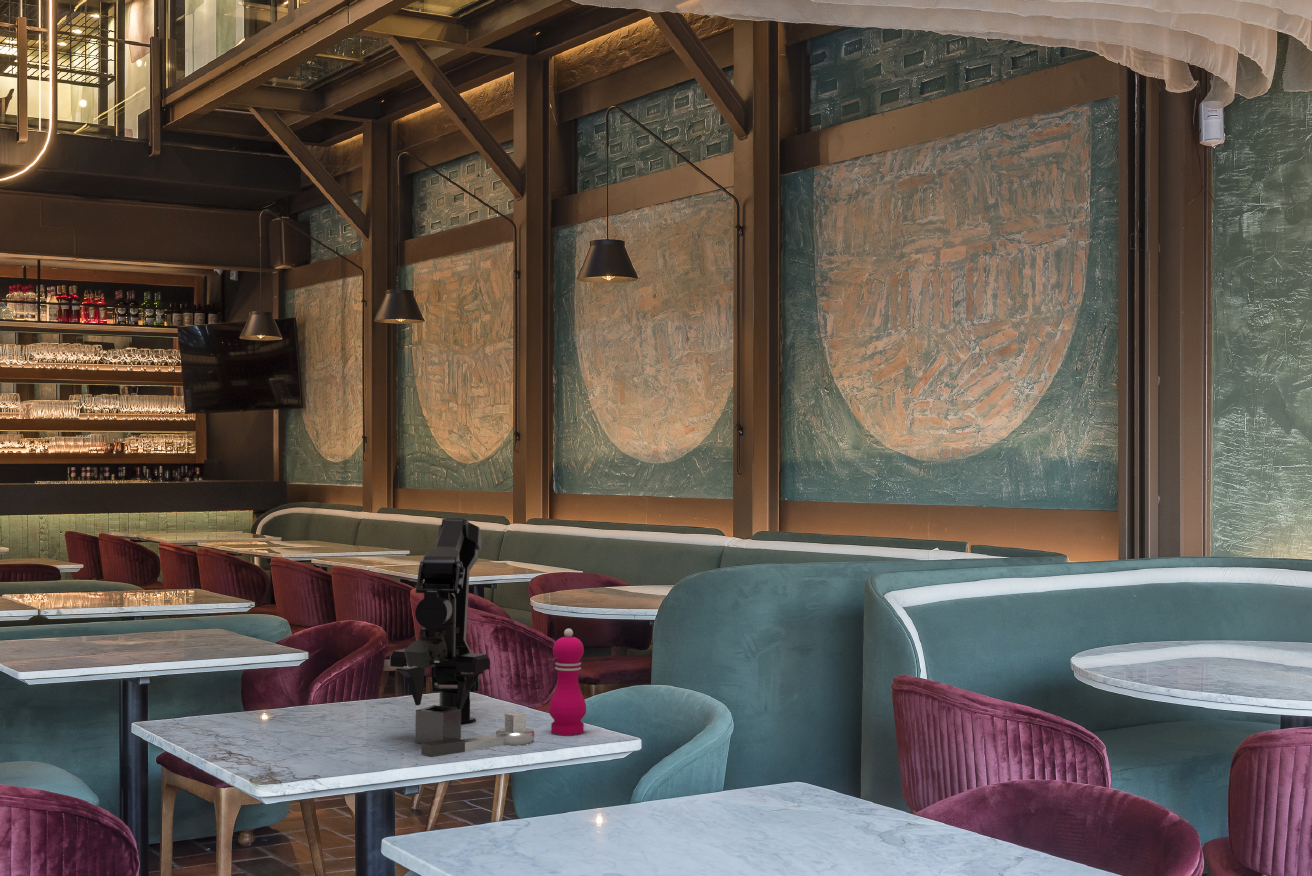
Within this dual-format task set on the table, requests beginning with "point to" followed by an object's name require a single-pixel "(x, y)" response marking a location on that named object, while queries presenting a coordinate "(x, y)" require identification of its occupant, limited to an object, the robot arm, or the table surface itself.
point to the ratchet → (484, 738)
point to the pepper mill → (567, 687)
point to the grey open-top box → (437, 723)
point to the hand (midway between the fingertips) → (438, 707)
